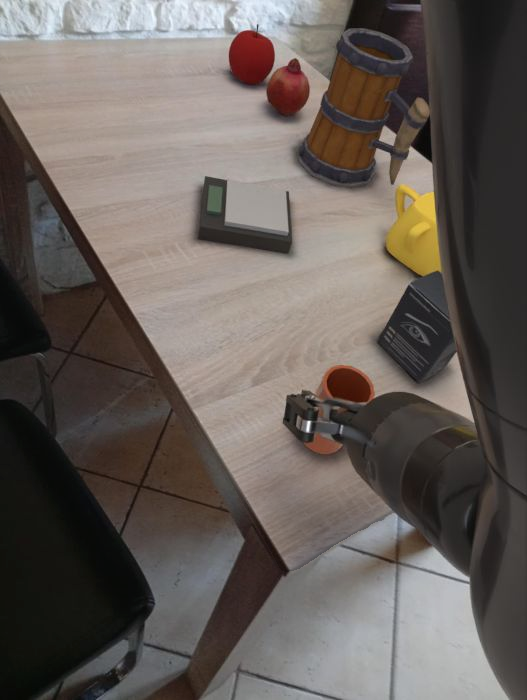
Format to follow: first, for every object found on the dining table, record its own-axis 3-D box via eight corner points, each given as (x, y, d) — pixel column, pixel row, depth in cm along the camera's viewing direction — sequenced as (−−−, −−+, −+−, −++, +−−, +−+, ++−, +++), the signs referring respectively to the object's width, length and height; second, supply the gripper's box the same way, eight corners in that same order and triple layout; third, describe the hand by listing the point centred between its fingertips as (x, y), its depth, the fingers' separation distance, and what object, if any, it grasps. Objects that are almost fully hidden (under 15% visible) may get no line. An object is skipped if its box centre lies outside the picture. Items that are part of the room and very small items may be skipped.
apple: (215, 74, 105) (223, 19, 97) (243, 64, 110) (252, 12, 103) (251, 95, 103) (262, 40, 95) (277, 84, 108) (290, 31, 101)
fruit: (309, 115, 103) (325, 62, 95) (290, 129, 98) (305, 74, 90) (275, 97, 104) (287, 44, 96) (254, 110, 99) (265, 55, 91)
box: (445, 368, 67) (490, 312, 59) (417, 385, 65) (460, 329, 56) (402, 326, 71) (439, 267, 62) (374, 340, 68) (409, 281, 60)
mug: (410, 186, 94) (466, 73, 79) (366, 213, 86) (420, 92, 70) (328, 132, 100) (366, 17, 85) (279, 153, 91) (312, 29, 76)
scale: (197, 238, 73) (200, 221, 71) (203, 188, 80) (205, 171, 78) (288, 253, 75) (293, 237, 73) (285, 203, 83) (290, 186, 80)
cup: (299, 452, 55) (325, 406, 48) (296, 410, 58) (320, 361, 52) (346, 456, 56) (378, 412, 49) (341, 415, 59) (370, 368, 52)
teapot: (375, 218, 85) (401, 162, 77) (448, 233, 87) (480, 180, 79) (384, 275, 77) (414, 219, 69) (465, 291, 78) (503, 238, 71)
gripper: (528, 415, 36) (420, 376, 51) (327, 391, 33) (280, 358, 49) (507, 521, 36) (407, 450, 52) (309, 505, 34) (268, 435, 50)
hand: (346, 405), depth 51 cm, fingers open, 8 cm apart
